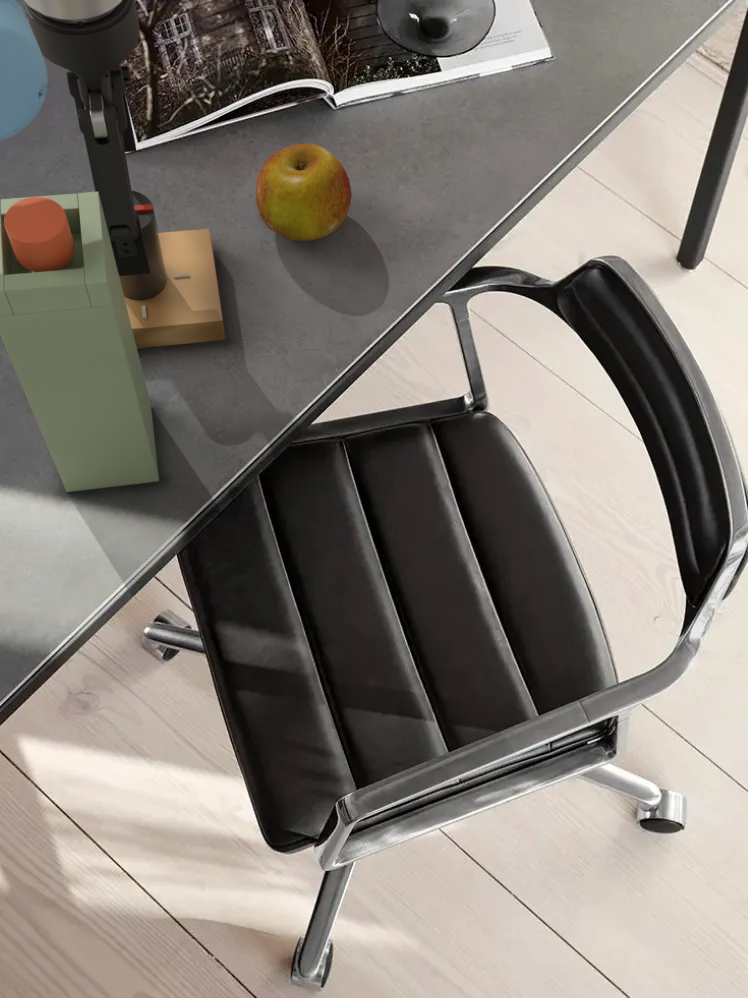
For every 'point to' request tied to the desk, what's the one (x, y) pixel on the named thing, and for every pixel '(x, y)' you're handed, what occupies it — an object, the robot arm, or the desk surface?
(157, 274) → the dial knob
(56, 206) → the button
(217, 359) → the desk surface
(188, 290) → the dial panel
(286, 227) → the fruit
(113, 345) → the button stand
